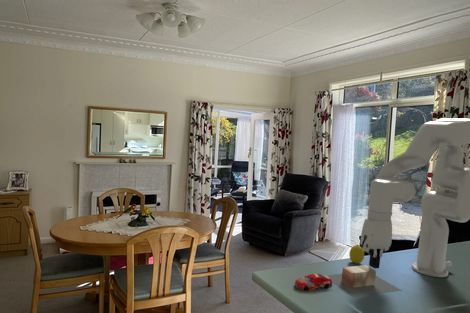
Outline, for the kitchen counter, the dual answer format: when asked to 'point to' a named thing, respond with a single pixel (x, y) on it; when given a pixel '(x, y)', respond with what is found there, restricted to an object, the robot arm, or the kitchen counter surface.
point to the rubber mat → (379, 286)
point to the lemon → (356, 254)
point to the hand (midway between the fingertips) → (373, 266)
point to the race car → (313, 282)
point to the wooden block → (358, 276)
